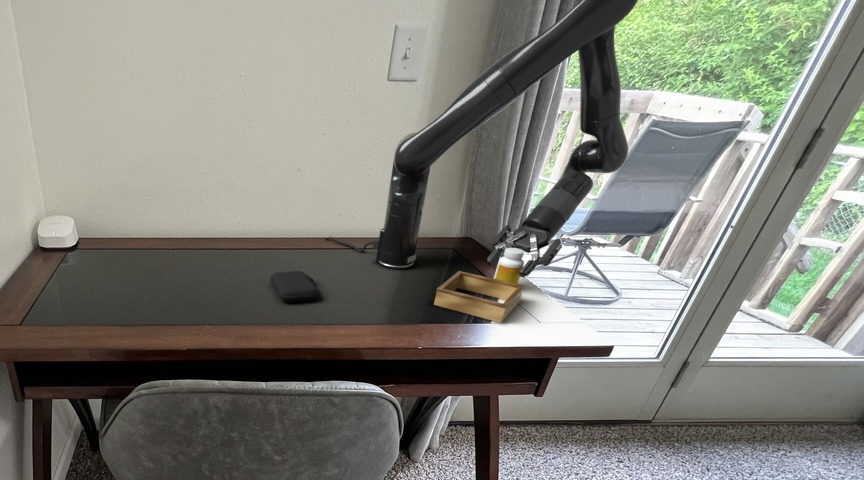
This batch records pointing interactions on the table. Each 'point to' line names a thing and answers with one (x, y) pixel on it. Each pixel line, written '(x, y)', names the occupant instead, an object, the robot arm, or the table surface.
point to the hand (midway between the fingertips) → (504, 269)
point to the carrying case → (294, 286)
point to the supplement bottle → (510, 265)
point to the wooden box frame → (475, 304)
